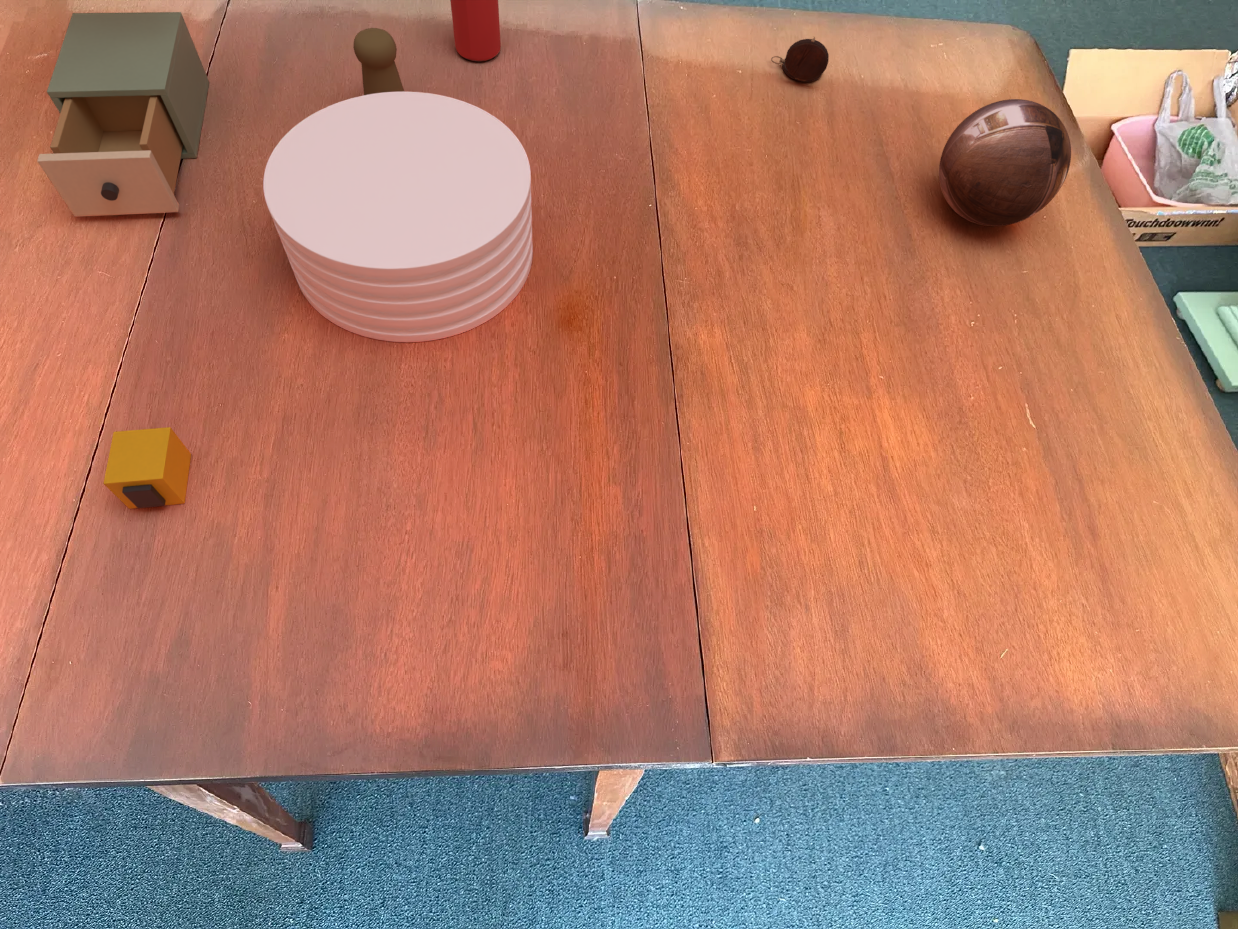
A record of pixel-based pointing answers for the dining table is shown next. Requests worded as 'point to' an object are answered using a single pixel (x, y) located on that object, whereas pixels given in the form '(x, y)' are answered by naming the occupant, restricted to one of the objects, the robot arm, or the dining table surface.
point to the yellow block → (148, 468)
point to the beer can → (476, 28)
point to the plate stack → (403, 214)
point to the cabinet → (135, 65)
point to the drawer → (115, 156)
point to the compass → (805, 60)
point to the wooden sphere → (1005, 162)
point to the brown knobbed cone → (377, 61)
